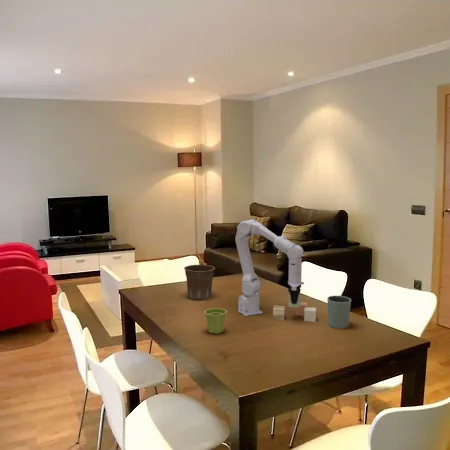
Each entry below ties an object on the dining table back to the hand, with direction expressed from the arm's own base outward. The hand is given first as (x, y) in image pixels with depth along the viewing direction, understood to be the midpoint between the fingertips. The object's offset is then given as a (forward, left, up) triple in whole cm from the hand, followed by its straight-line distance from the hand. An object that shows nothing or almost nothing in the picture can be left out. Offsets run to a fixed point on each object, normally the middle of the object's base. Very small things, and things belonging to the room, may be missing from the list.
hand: (294, 301), depth 209 cm
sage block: (0, 0, -2) cm, 2 cm away
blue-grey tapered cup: (+12, -16, -8) cm, 22 cm away
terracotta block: (+7, +4, -8) cm, 11 cm away
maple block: (-6, +4, -8) cm, 11 cm away
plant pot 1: (-25, +52, -8) cm, 58 cm away
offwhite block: (+6, -4, -8) cm, 11 cm away
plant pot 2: (-39, +1, -8) cm, 40 cm away
